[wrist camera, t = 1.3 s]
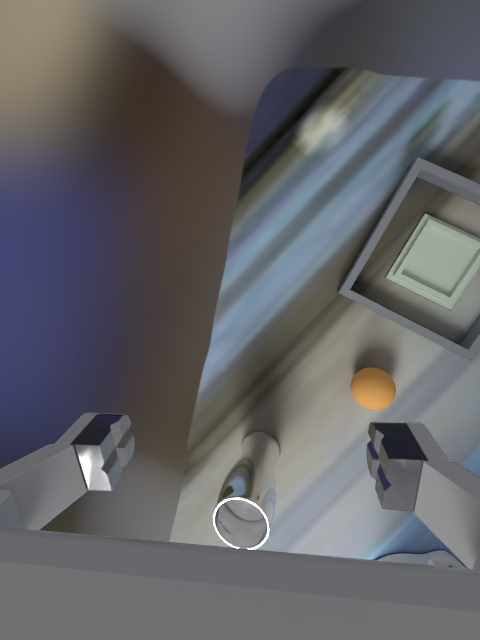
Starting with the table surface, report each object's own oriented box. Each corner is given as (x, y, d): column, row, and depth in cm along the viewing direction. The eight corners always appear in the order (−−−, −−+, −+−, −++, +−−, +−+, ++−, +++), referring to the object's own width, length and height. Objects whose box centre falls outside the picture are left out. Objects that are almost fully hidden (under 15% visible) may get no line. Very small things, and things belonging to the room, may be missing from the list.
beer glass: (270, 422, 47) (253, 487, 33) (290, 461, 47) (282, 543, 33) (231, 437, 49) (199, 505, 35) (251, 475, 49) (228, 558, 35)
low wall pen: (553, 227, 36) (571, 224, 34) (461, 355, 40) (471, 360, 38) (411, 164, 38) (418, 157, 36) (337, 291, 42) (338, 292, 40)
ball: (397, 374, 42) (410, 389, 37) (375, 406, 43) (385, 425, 38) (361, 355, 43) (368, 366, 38) (340, 387, 44) (345, 402, 39)
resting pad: (492, 245, 38) (498, 244, 36) (449, 309, 40) (453, 310, 39) (424, 213, 39) (427, 212, 38) (385, 277, 41) (387, 277, 40)
